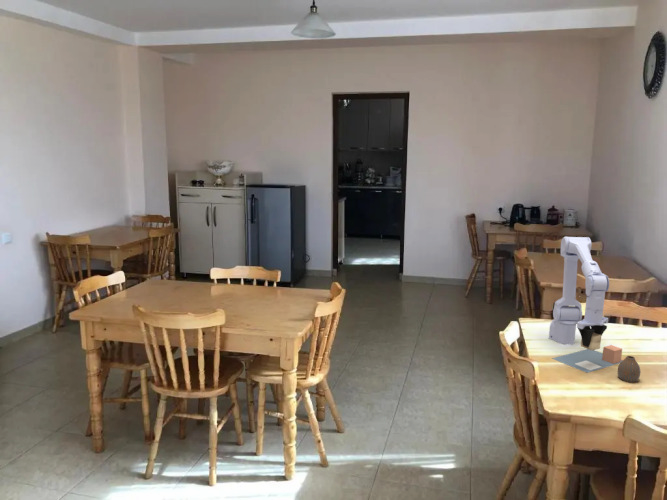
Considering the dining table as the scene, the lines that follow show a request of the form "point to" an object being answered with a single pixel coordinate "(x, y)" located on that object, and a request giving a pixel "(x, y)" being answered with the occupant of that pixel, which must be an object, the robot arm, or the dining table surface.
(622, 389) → the dining table surface
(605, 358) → the terracotta block
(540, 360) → the dining table surface
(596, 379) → the dining table surface
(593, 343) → the maple block
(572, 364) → the build board
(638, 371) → the vase
